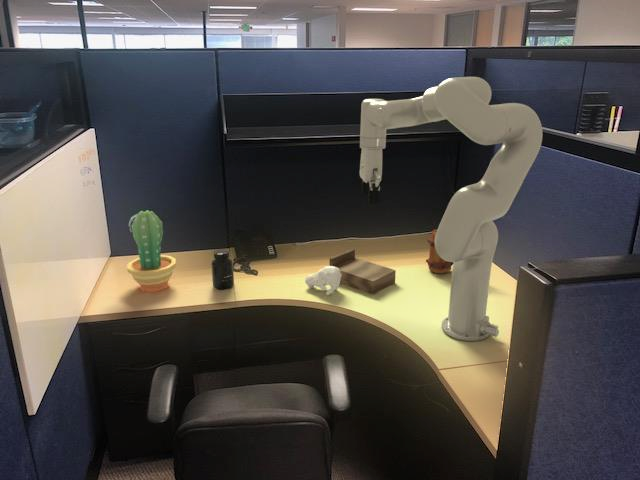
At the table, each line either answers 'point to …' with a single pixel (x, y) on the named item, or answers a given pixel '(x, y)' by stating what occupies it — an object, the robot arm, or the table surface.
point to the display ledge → (362, 273)
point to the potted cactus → (149, 253)
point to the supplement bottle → (222, 270)
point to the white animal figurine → (325, 279)
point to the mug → (437, 258)
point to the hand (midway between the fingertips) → (370, 198)
